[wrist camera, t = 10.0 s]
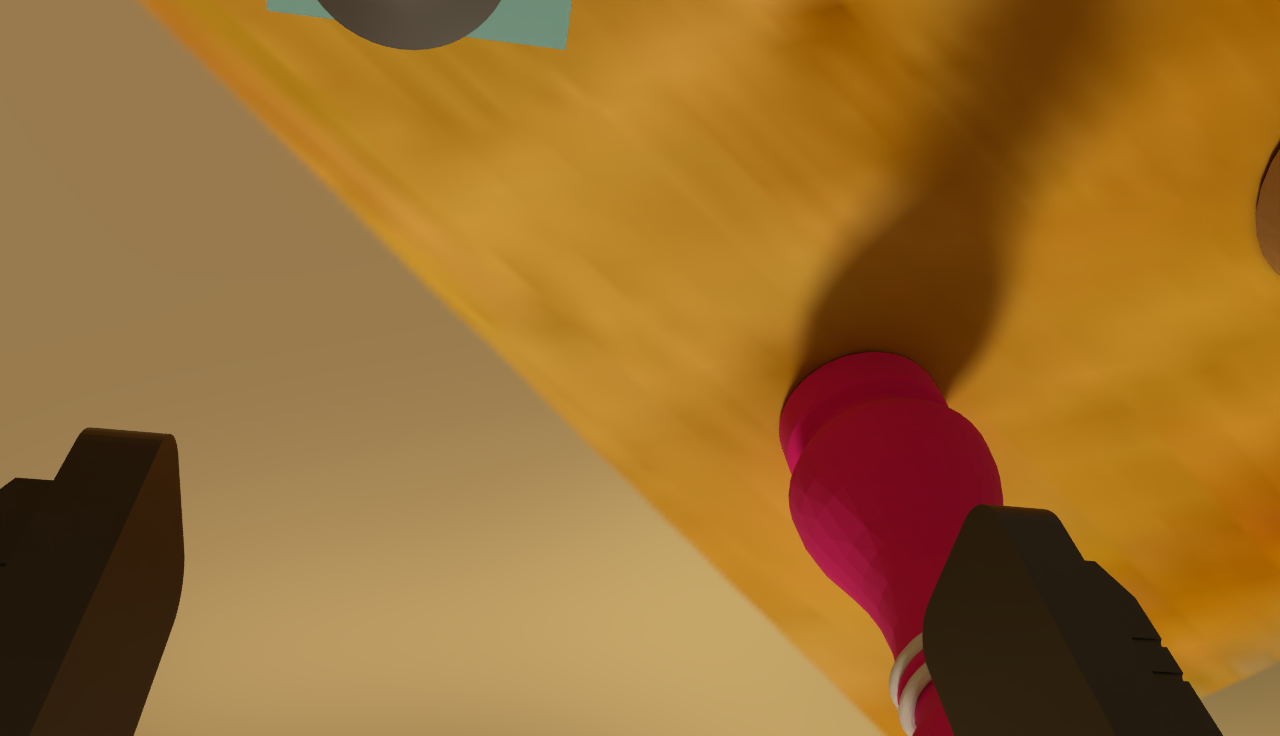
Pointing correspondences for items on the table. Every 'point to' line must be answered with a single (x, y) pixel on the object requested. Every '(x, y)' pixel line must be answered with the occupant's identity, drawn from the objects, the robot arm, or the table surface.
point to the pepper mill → (885, 500)
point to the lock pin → (411, 20)
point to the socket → (522, 16)
